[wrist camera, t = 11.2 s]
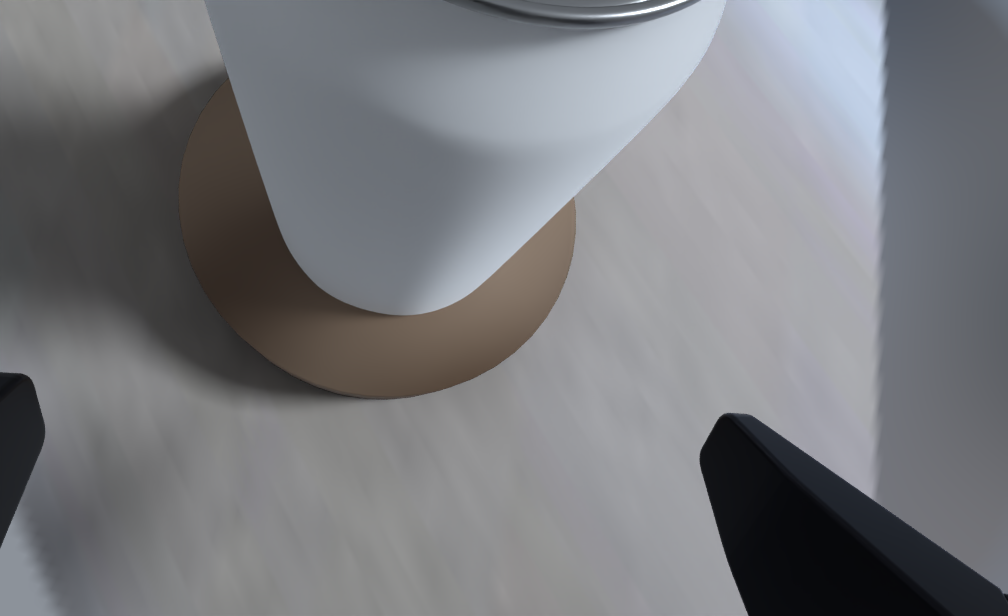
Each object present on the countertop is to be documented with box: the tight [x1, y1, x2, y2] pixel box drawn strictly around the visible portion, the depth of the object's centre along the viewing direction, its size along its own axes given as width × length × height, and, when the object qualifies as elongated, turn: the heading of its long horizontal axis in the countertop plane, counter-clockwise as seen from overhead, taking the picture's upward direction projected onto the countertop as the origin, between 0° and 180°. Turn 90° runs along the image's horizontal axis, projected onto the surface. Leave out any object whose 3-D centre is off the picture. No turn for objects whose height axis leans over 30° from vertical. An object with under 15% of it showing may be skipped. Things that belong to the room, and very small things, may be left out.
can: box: [204, 0, 727, 315], centre depth 11 cm, size 6×6×12 cm
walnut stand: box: [179, 78, 576, 399], centre depth 18 cm, size 11×11×2 cm
